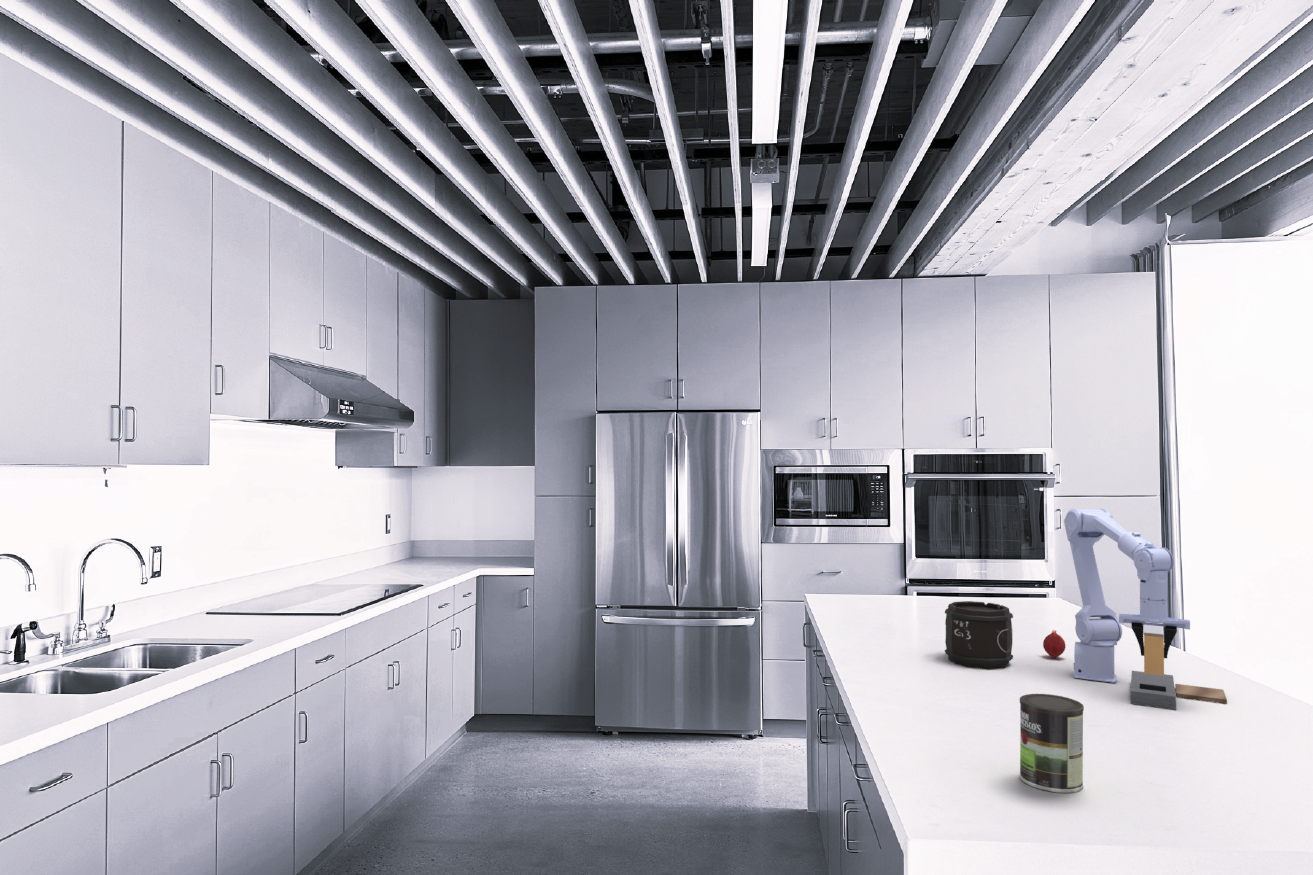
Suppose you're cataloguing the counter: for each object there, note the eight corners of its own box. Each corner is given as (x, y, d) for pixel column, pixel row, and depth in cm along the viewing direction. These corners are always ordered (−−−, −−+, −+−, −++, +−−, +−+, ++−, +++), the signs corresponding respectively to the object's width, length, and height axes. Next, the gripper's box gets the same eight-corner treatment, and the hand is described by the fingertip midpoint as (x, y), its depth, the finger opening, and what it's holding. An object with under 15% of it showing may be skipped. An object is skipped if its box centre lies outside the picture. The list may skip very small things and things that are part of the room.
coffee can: (1039, 794, 142) (1039, 710, 143) (1008, 771, 152) (1008, 693, 153) (1096, 792, 143) (1096, 709, 143) (1062, 770, 153) (1062, 692, 154)
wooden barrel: (1010, 657, 241) (1010, 602, 241) (1015, 672, 224) (1015, 613, 224) (944, 652, 247) (944, 598, 247) (944, 666, 230) (944, 608, 230)
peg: (1144, 673, 198) (1144, 635, 198) (1144, 669, 202) (1144, 632, 202) (1164, 675, 196) (1163, 637, 196) (1163, 672, 200) (1163, 634, 200)
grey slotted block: (1130, 703, 196) (1130, 690, 196) (1131, 682, 215) (1131, 670, 215) (1176, 709, 191) (1175, 696, 191) (1173, 687, 210) (1172, 675, 210)
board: (1176, 697, 201) (1176, 693, 201) (1175, 687, 210) (1175, 683, 210) (1226, 703, 196) (1226, 699, 196) (1223, 693, 205) (1223, 689, 205)
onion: (1068, 661, 237) (1067, 632, 237) (1046, 659, 238) (1046, 631, 238) (1062, 656, 242) (1062, 628, 242) (1041, 655, 243) (1040, 627, 244)
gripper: (1118, 598, 199) (1118, 655, 199) (1190, 604, 192) (1190, 663, 192) (1119, 594, 206) (1119, 649, 205) (1189, 599, 198) (1189, 657, 198)
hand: (1153, 656), depth 199 cm, fingers closed on peg, 4 cm apart
